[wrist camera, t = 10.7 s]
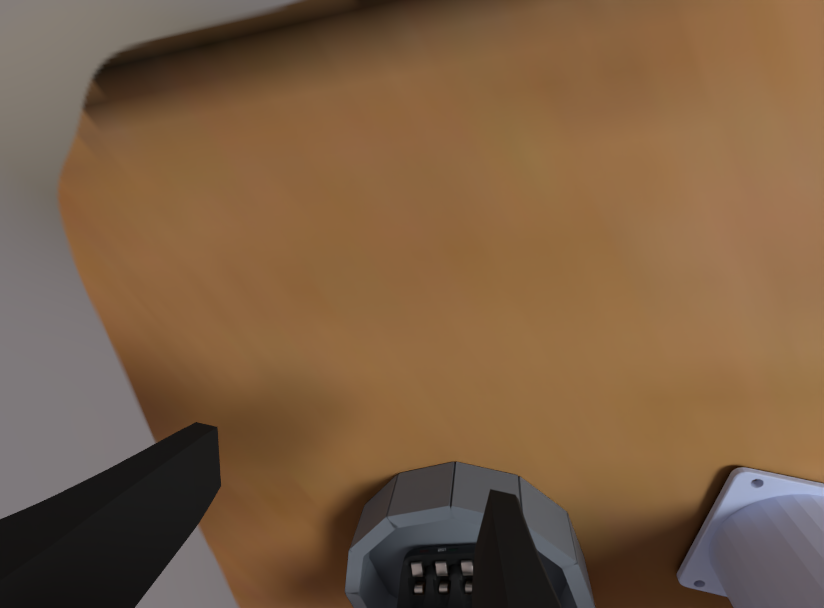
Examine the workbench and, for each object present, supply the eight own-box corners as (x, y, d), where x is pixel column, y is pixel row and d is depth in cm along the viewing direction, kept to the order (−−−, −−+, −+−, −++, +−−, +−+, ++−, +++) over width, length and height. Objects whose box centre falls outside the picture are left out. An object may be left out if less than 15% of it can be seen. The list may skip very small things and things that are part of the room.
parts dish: (609, 495, 22) (626, 546, 19) (548, 646, 27) (555, 703, 24) (371, 442, 23) (355, 483, 21) (354, 594, 28) (339, 644, 26)
